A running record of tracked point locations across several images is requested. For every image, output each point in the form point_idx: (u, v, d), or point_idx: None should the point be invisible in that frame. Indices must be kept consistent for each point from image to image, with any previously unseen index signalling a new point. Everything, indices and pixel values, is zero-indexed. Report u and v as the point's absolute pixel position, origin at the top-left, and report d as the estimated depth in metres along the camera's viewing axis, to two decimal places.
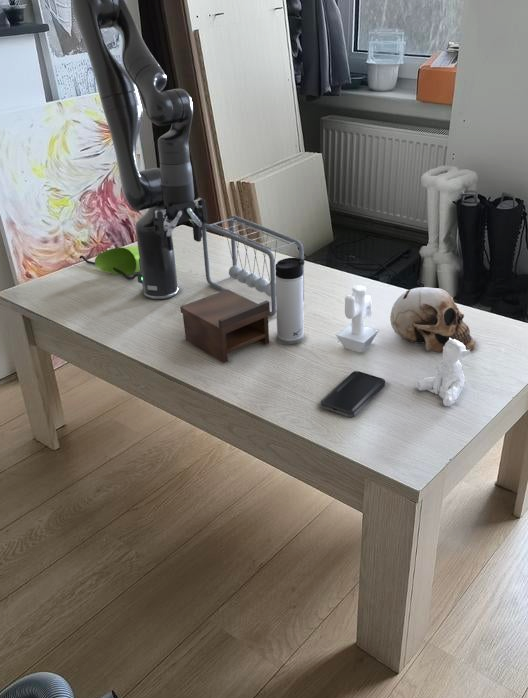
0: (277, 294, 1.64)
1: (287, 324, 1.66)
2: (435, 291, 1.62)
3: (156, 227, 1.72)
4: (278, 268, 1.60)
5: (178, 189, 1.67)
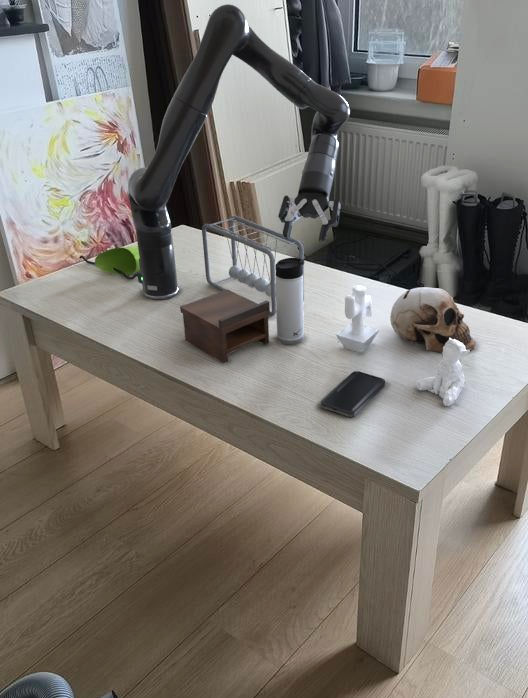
0: (277, 294, 1.64)
1: (287, 324, 1.66)
2: (435, 291, 1.62)
3: None
4: (278, 268, 1.60)
5: (306, 174, 1.69)
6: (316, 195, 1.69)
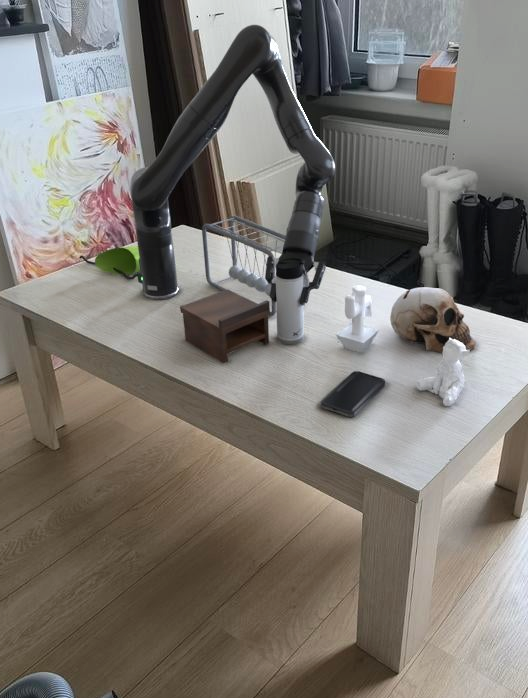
0: (277, 294, 1.63)
1: (287, 324, 1.66)
2: (435, 291, 1.62)
3: None
4: (278, 268, 1.59)
5: (290, 233, 1.65)
6: (301, 254, 1.65)
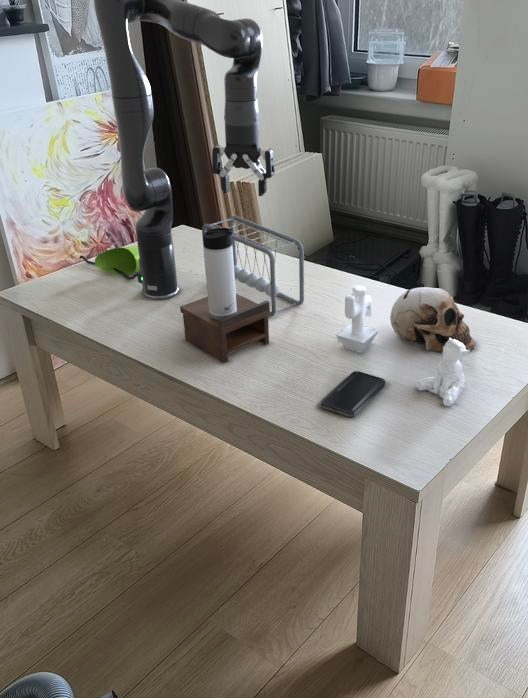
0: (206, 266, 1.56)
1: (217, 298, 1.58)
2: (435, 291, 1.62)
3: None
4: (205, 238, 1.52)
5: (228, 128, 1.56)
6: (245, 146, 1.59)
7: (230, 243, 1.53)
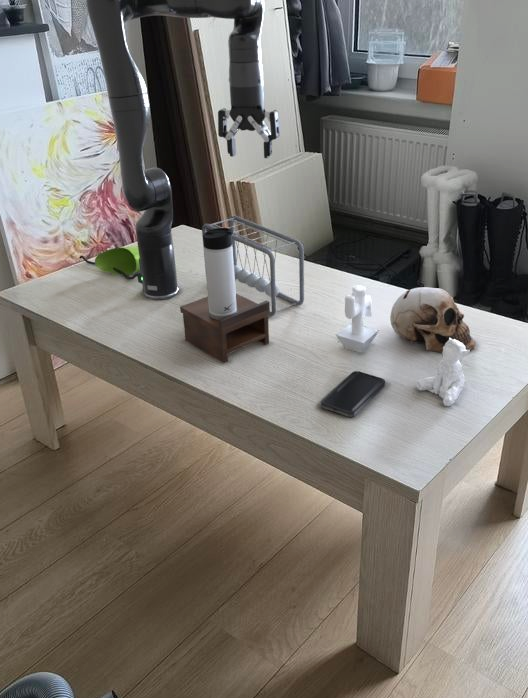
0: (206, 266, 1.56)
1: (217, 298, 1.58)
2: (435, 291, 1.62)
3: None
4: (205, 238, 1.52)
5: (233, 90, 1.58)
6: (250, 108, 1.61)
7: (230, 243, 1.53)
